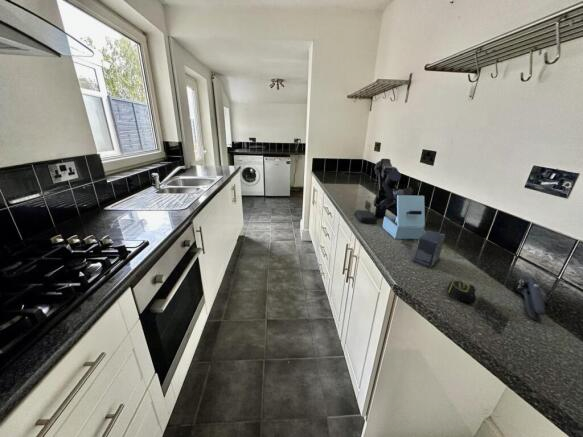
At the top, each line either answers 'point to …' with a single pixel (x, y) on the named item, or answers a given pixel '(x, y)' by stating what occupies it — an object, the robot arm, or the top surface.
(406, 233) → the light blue box
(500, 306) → the top surface
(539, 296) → the can opener
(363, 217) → the carrying case
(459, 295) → the tape measure
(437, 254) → the small box
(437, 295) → the top surface
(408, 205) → the lid
